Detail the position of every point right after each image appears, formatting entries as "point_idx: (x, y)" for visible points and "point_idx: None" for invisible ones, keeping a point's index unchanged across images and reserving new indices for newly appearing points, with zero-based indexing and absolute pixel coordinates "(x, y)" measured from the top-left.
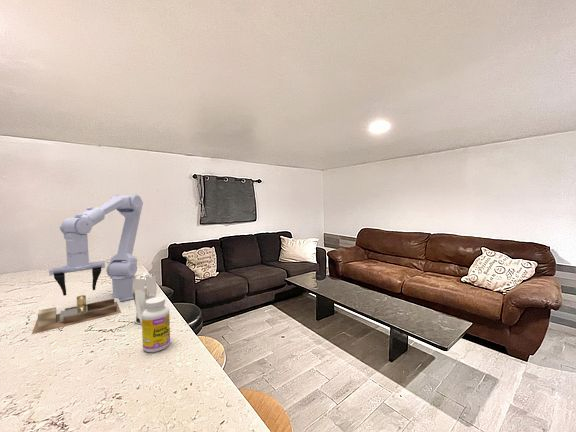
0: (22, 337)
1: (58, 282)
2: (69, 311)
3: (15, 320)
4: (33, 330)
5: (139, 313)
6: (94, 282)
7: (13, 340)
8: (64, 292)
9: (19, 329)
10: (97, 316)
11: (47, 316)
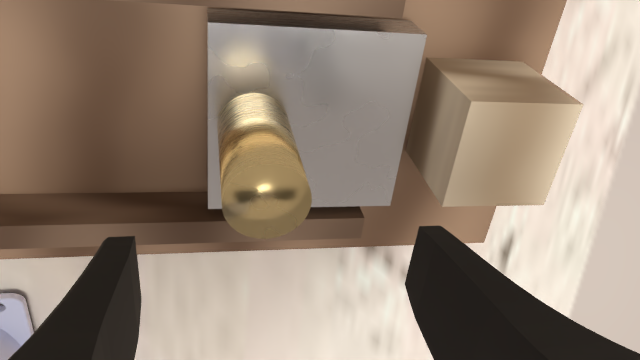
0: (586, 18)
1: (607, 339)
2: (341, 150)
3: None
4: (560, 9)
5: None
6: (86, 308)
7: (628, 4)
8: (450, 244)
9: (555, 182)
10: None
11: (505, 86)
